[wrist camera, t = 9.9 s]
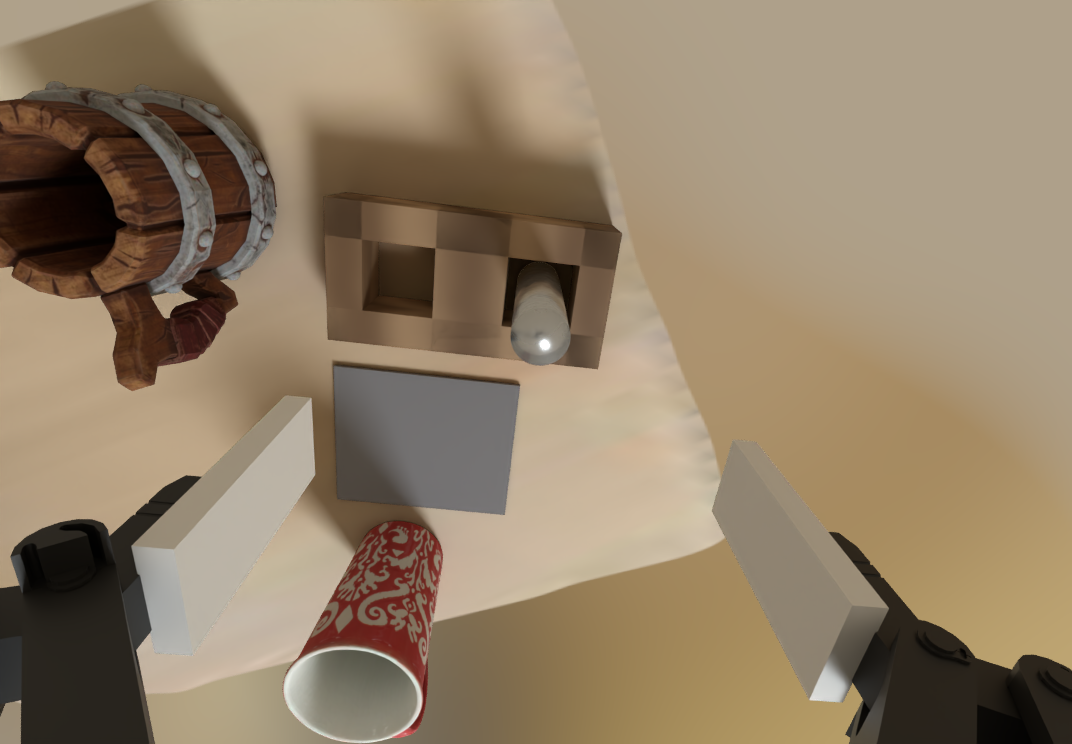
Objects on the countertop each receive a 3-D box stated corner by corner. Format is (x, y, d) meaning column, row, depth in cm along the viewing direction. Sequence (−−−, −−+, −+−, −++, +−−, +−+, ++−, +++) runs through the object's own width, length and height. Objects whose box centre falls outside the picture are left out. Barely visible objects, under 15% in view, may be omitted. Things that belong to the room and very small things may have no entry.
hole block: (347, 321, 38) (327, 339, 34) (345, 192, 35) (323, 196, 31) (591, 349, 39) (597, 369, 35) (612, 225, 36) (621, 233, 32)
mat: (338, 496, 44) (337, 499, 44) (334, 364, 39) (333, 366, 39) (504, 512, 45) (504, 514, 44) (519, 384, 40) (519, 386, 40)
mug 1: (227, 47, 31) (39, 48, 19) (336, 265, 39) (255, 373, 26) (56, 104, 32) (-232, 143, 20) (194, 306, 40) (50, 428, 27)
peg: (514, 300, 38) (507, 361, 27) (519, 259, 37) (514, 304, 25) (556, 306, 38) (565, 368, 27) (562, 264, 37) (575, 312, 26)
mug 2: (332, 523, 45) (256, 664, 33) (432, 500, 44) (393, 635, 32) (386, 628, 50) (337, 786, 37) (477, 608, 49) (459, 764, 36)
